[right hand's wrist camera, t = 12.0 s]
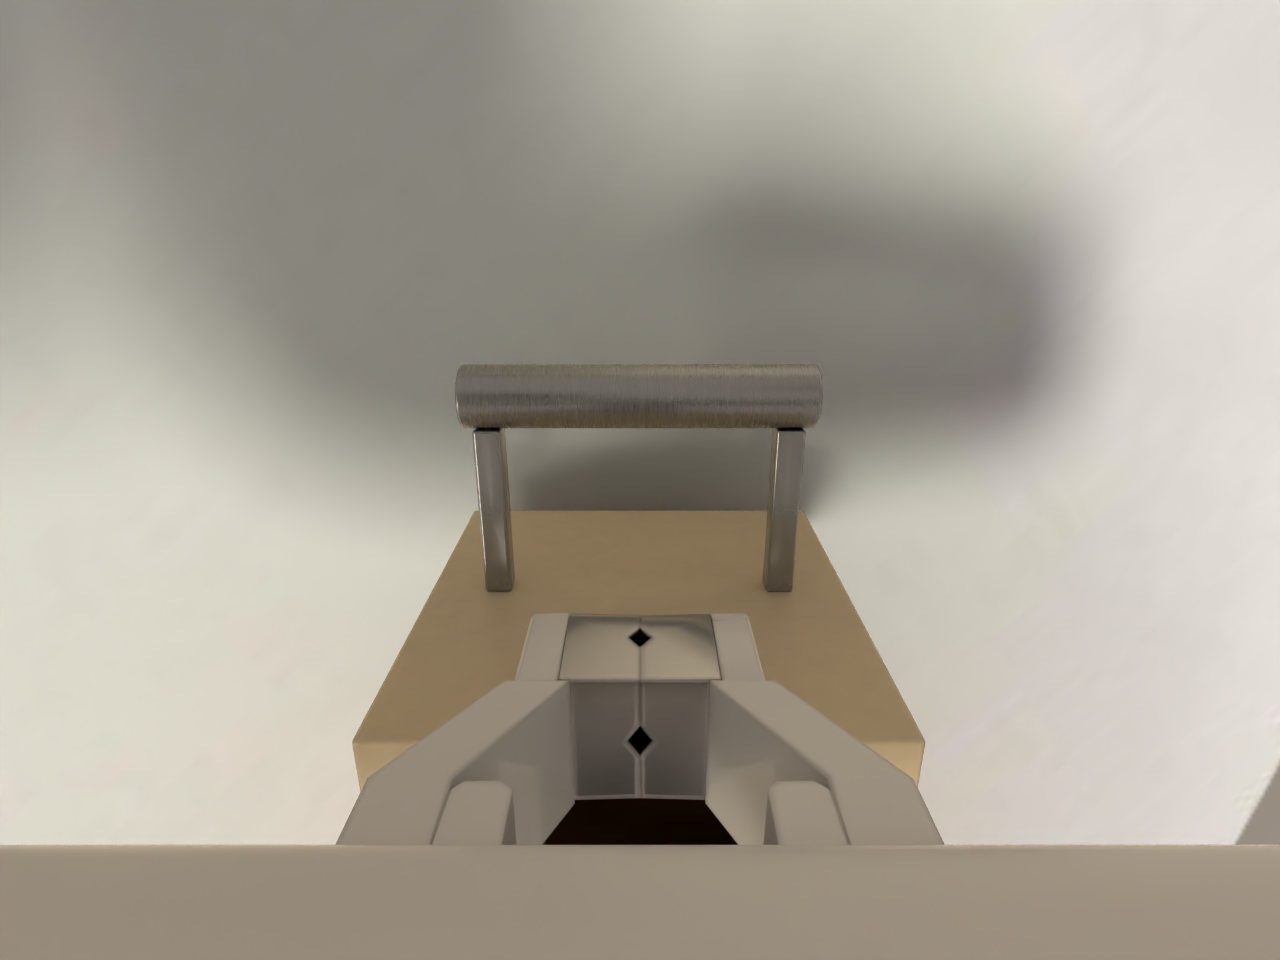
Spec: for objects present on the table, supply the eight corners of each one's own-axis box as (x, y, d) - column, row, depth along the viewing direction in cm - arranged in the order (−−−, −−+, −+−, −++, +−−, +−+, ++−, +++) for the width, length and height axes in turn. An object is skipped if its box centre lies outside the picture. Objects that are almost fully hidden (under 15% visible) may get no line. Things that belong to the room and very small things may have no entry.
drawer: (458, 329, 19) (297, 443, 10) (819, 329, 19) (979, 443, 10) (509, 914, 27) (443, 1278, 18) (768, 914, 27) (834, 1277, 18)
